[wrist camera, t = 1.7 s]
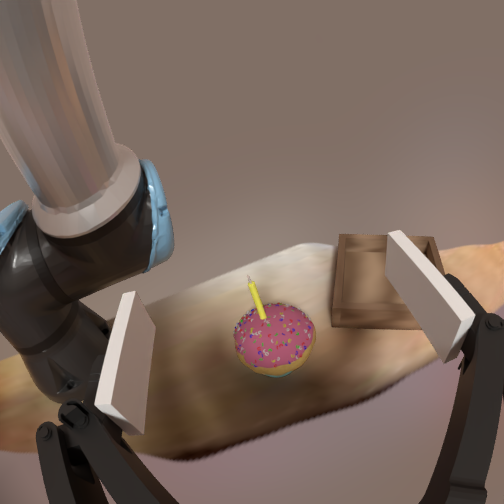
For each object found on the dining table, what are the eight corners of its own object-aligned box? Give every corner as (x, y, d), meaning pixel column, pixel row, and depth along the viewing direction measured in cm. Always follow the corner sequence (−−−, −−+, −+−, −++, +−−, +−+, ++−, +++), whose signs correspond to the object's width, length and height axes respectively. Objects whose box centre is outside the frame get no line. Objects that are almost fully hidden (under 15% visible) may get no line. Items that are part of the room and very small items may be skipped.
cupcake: (227, 365, 35) (197, 292, 28) (275, 321, 39) (261, 244, 32) (282, 406, 29) (267, 339, 22) (331, 352, 33) (332, 275, 26)
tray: (331, 326, 36) (332, 307, 34) (339, 252, 48) (339, 234, 46) (446, 329, 32) (454, 310, 30) (429, 255, 43) (433, 236, 41)
